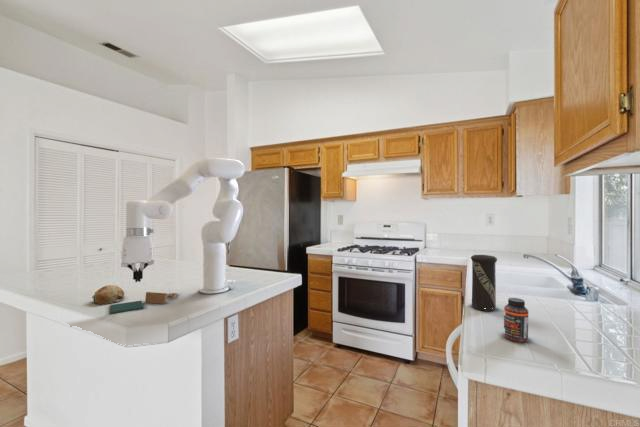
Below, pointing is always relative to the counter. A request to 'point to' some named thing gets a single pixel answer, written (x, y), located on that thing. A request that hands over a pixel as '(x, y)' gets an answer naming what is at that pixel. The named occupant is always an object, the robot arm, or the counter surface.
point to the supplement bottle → (516, 320)
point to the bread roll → (108, 294)
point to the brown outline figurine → (158, 297)
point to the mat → (126, 307)
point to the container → (483, 282)
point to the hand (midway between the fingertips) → (137, 281)
